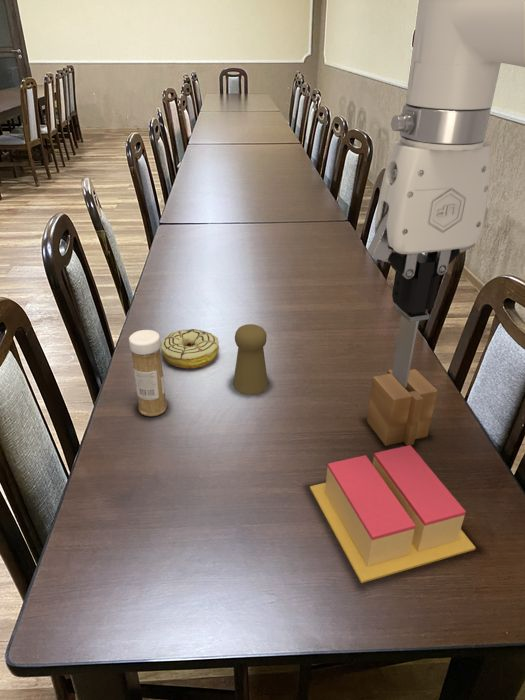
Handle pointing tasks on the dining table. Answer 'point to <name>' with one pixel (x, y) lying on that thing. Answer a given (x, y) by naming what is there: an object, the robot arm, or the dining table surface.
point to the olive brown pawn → (250, 360)
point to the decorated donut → (189, 348)
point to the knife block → (401, 408)
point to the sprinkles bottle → (148, 372)
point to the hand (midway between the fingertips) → (412, 304)
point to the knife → (412, 319)
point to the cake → (391, 513)
